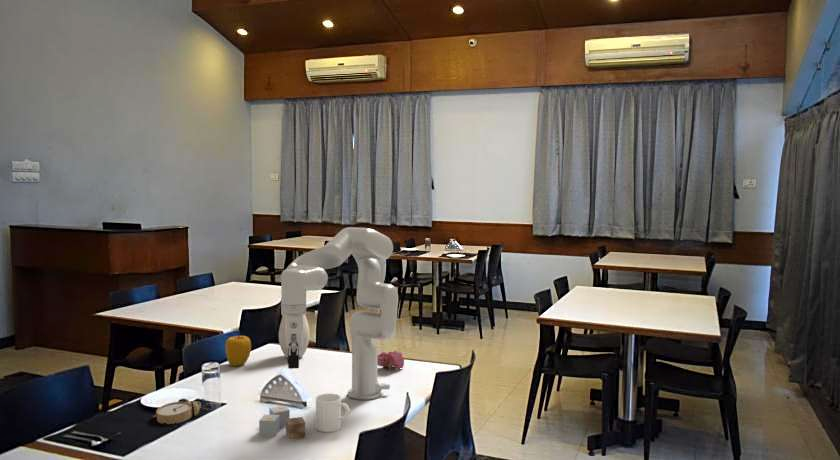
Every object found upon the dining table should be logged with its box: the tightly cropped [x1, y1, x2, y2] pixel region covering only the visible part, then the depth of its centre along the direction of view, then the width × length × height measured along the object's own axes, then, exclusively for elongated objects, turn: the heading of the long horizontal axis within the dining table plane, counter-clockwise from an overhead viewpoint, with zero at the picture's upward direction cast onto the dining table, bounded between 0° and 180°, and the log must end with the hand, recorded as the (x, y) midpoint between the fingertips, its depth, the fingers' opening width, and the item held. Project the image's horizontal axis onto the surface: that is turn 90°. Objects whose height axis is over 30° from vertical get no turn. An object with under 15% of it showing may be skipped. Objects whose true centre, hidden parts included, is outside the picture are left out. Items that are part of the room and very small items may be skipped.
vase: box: [278, 314, 310, 359], centre depth 275 cm, size 14×14×30 cm
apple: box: [224, 335, 252, 367], centre depth 263 cm, size 11×11×13 cm
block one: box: [258, 414, 281, 437], centre depth 190 cm, size 5×5×5 cm
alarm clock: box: [152, 397, 202, 425], centre depth 203 cm, size 11×5×15 cm
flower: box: [377, 350, 405, 371], centre depth 259 cm, size 11×10×10 cm
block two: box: [268, 405, 291, 428], centre depth 198 cm, size 5×5×5 cm
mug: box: [315, 393, 351, 433], centre depth 195 cm, size 8×12×10 cm
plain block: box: [285, 416, 306, 441], centre depth 188 cm, size 5×5×5 cm
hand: (293, 363), depth 188 cm, fingers open, 9 cm apart
